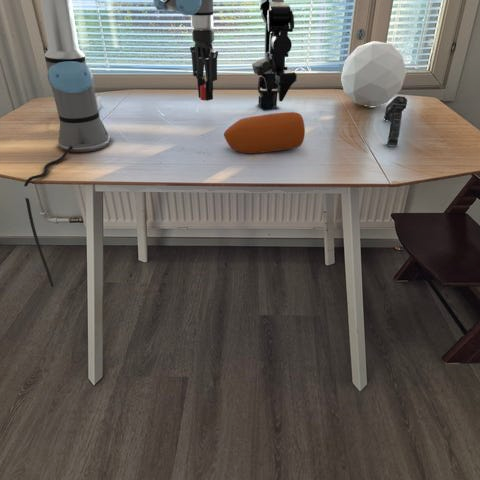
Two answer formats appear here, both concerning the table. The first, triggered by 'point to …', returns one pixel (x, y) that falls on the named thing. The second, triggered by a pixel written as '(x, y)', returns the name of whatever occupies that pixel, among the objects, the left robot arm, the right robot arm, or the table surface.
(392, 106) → the futuristic handgun
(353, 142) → the table surface
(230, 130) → the orange tapered rounded cylinder
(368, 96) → the decorative sphere
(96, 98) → the charger
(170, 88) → the table surface
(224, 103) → the table surface
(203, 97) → the can
